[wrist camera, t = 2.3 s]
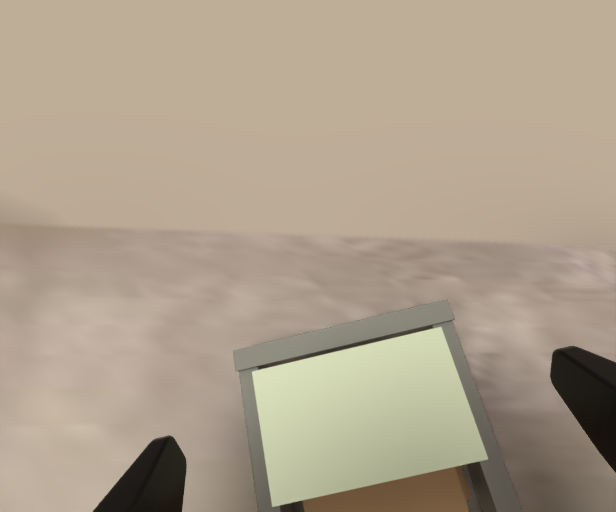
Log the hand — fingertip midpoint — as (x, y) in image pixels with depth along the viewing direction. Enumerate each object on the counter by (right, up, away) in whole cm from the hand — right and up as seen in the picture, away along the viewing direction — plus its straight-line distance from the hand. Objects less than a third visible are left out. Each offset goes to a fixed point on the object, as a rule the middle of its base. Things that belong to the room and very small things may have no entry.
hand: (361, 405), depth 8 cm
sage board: (+1, -4, +11) cm, 11 cm away
